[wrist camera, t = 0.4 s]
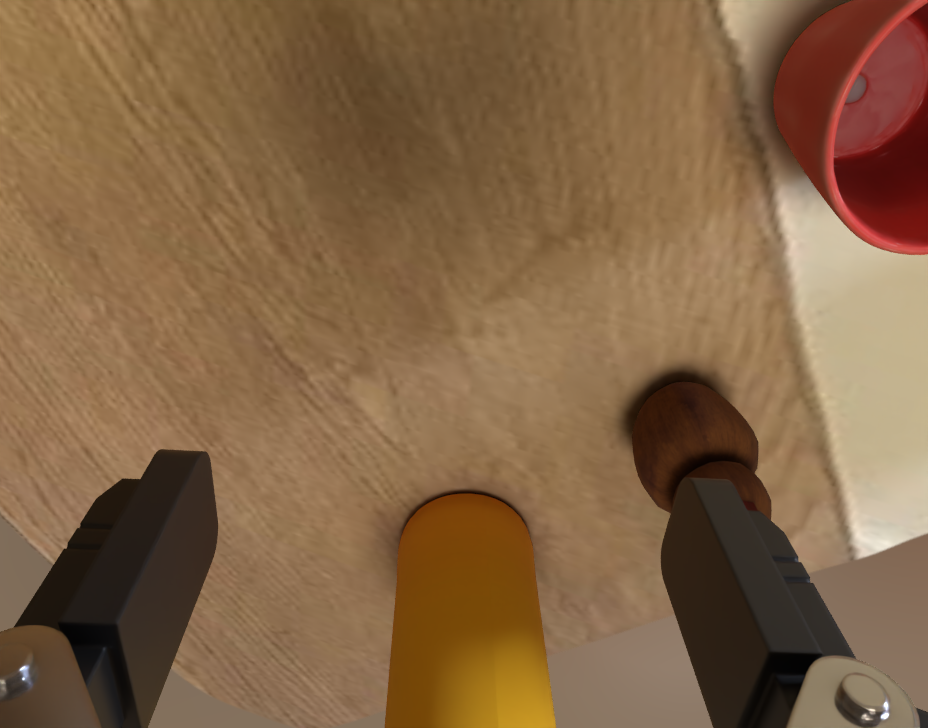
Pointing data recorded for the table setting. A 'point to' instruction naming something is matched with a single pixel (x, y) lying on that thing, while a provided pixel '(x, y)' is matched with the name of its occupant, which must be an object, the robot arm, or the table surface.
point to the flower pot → (863, 117)
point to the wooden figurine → (695, 445)
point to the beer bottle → (467, 621)
